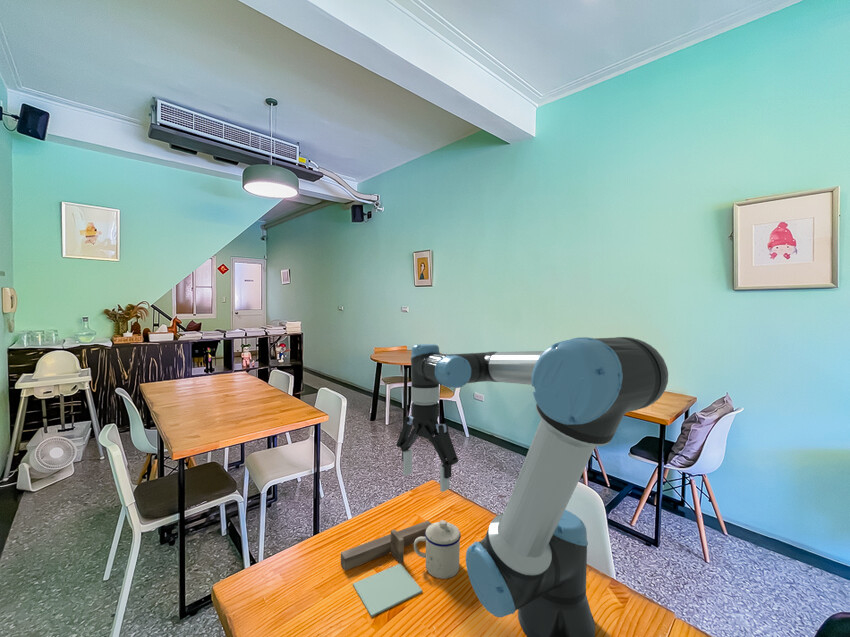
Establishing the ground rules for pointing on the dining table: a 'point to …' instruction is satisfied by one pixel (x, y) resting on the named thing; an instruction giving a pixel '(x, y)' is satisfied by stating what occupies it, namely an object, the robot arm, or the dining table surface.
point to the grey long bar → (383, 546)
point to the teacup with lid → (441, 549)
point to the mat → (386, 589)
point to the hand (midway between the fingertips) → (425, 481)
